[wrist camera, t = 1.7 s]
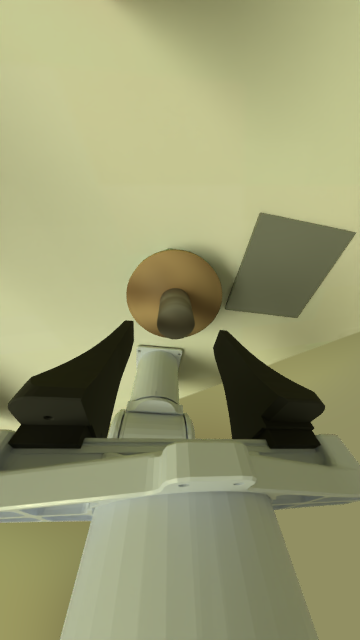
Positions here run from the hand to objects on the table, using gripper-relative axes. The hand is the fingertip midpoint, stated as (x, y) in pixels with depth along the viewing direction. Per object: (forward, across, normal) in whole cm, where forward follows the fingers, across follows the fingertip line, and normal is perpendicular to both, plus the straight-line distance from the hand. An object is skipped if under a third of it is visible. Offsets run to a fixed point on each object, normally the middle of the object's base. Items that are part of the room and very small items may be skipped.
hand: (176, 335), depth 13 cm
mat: (+10, -14, -4) cm, 18 cm away
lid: (+7, 0, 0) cm, 7 cm away
